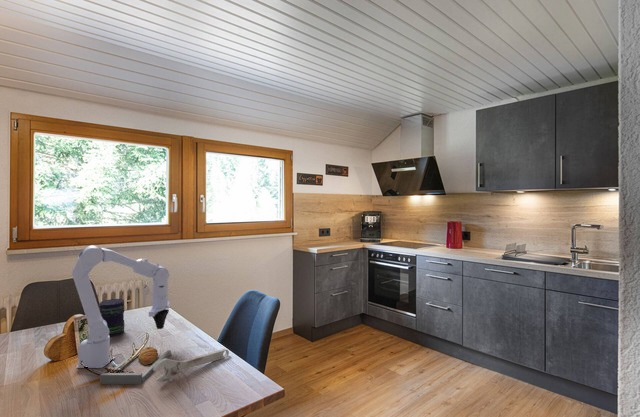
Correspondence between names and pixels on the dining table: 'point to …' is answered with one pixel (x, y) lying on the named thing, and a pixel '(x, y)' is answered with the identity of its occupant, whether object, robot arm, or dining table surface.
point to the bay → (129, 374)
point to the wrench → (185, 364)
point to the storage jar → (113, 315)
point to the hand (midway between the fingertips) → (160, 328)
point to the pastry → (148, 355)
